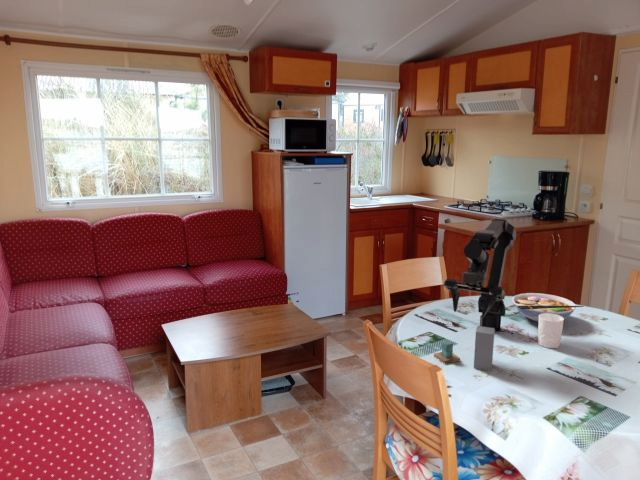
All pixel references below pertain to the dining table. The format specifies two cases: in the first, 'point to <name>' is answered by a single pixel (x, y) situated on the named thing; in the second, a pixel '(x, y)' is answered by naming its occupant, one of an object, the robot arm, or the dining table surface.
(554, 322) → the white cup
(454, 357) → the post plinth
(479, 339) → the tall grey pillar
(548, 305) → the ramen bowl
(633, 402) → the dining table surface
